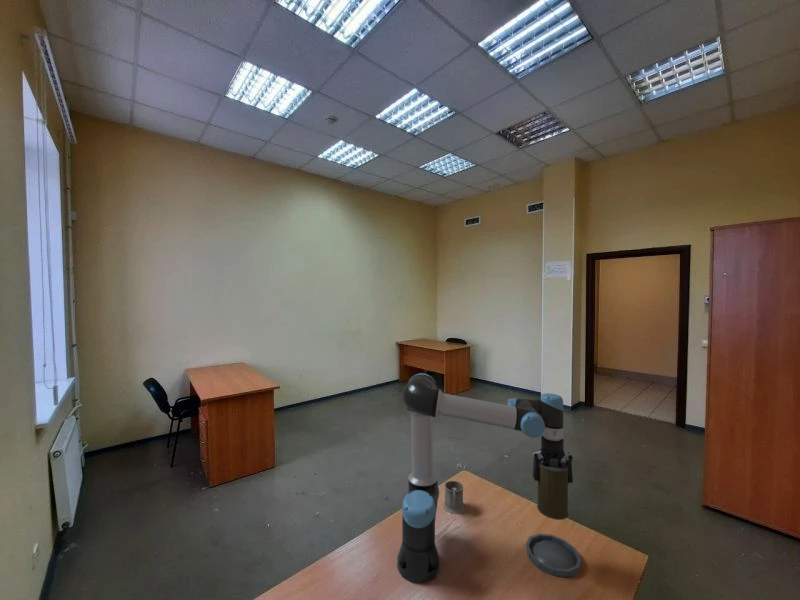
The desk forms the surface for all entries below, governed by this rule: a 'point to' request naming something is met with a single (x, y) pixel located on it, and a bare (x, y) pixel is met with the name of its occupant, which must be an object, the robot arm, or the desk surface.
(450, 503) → the mug
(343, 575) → the desk surface
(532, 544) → the round tray
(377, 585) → the desk surface
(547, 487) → the canister
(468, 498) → the desk surface
